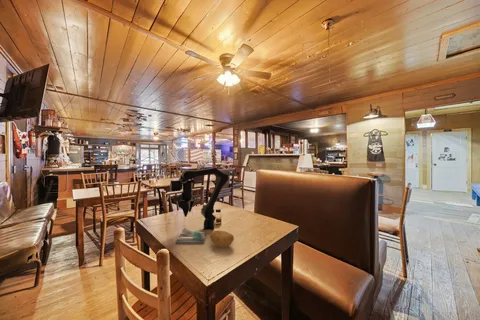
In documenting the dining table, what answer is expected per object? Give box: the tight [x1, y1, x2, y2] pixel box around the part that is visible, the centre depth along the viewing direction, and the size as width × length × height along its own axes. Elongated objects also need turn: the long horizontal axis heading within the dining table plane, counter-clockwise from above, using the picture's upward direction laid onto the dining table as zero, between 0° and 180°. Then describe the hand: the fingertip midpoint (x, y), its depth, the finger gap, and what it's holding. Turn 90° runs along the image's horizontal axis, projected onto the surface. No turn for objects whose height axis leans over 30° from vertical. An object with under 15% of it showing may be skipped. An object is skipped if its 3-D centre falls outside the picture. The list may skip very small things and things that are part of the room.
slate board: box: [174, 233, 208, 245], centre depth 109 cm, size 16×11×2 cm
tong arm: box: [181, 227, 206, 237], centre depth 110 cm, size 16×2×2 cm, turn 66°
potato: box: [209, 230, 235, 249], centre depth 102 cm, size 10×14×8 cm
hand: (187, 214), depth 118 cm, fingers open, 9 cm apart
